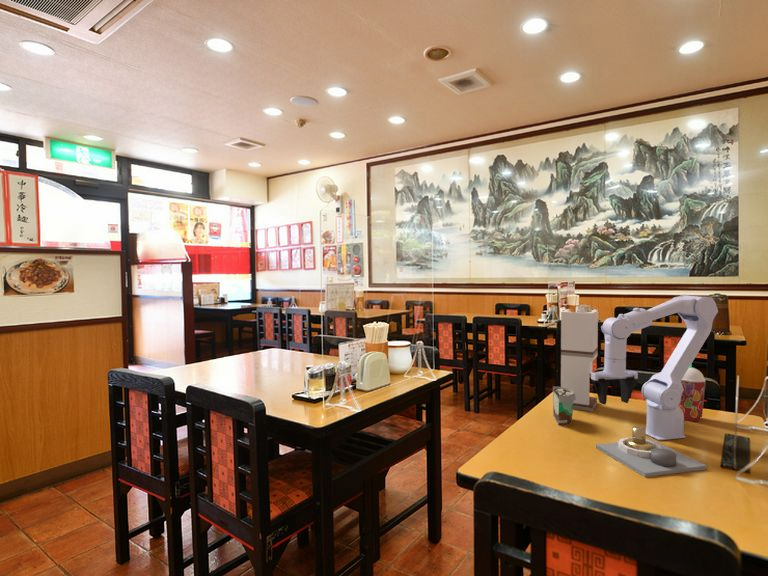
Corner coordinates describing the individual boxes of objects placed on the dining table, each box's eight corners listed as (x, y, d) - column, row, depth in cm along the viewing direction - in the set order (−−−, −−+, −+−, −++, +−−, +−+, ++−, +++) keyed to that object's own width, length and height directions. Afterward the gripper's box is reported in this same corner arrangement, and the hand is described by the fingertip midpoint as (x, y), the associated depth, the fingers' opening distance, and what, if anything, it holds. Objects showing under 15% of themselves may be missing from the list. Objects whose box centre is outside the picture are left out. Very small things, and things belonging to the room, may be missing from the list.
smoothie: (704, 416, 151) (705, 358, 150) (705, 424, 144) (707, 363, 143) (674, 412, 155) (675, 355, 155) (674, 420, 148) (675, 360, 148)
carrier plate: (650, 442, 130) (650, 430, 130) (706, 469, 113) (706, 455, 113) (596, 448, 127) (596, 435, 127) (645, 477, 109) (645, 463, 109)
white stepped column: (592, 411, 158) (593, 313, 157) (560, 406, 164) (561, 311, 163) (597, 402, 168) (597, 310, 166) (567, 398, 174) (567, 309, 172)
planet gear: (639, 443, 127) (639, 423, 127) (658, 453, 121) (658, 431, 120) (620, 446, 125) (620, 425, 125) (638, 455, 119) (638, 433, 119)
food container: (579, 427, 143) (579, 397, 142) (559, 426, 144) (559, 396, 143) (571, 415, 155) (571, 386, 154) (552, 414, 156) (552, 386, 156)
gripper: (626, 354, 139) (624, 397, 140) (585, 356, 136) (583, 400, 137) (643, 359, 132) (642, 404, 133) (600, 360, 129) (599, 407, 130)
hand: (613, 402), depth 134 cm, fingers open, 7 cm apart
